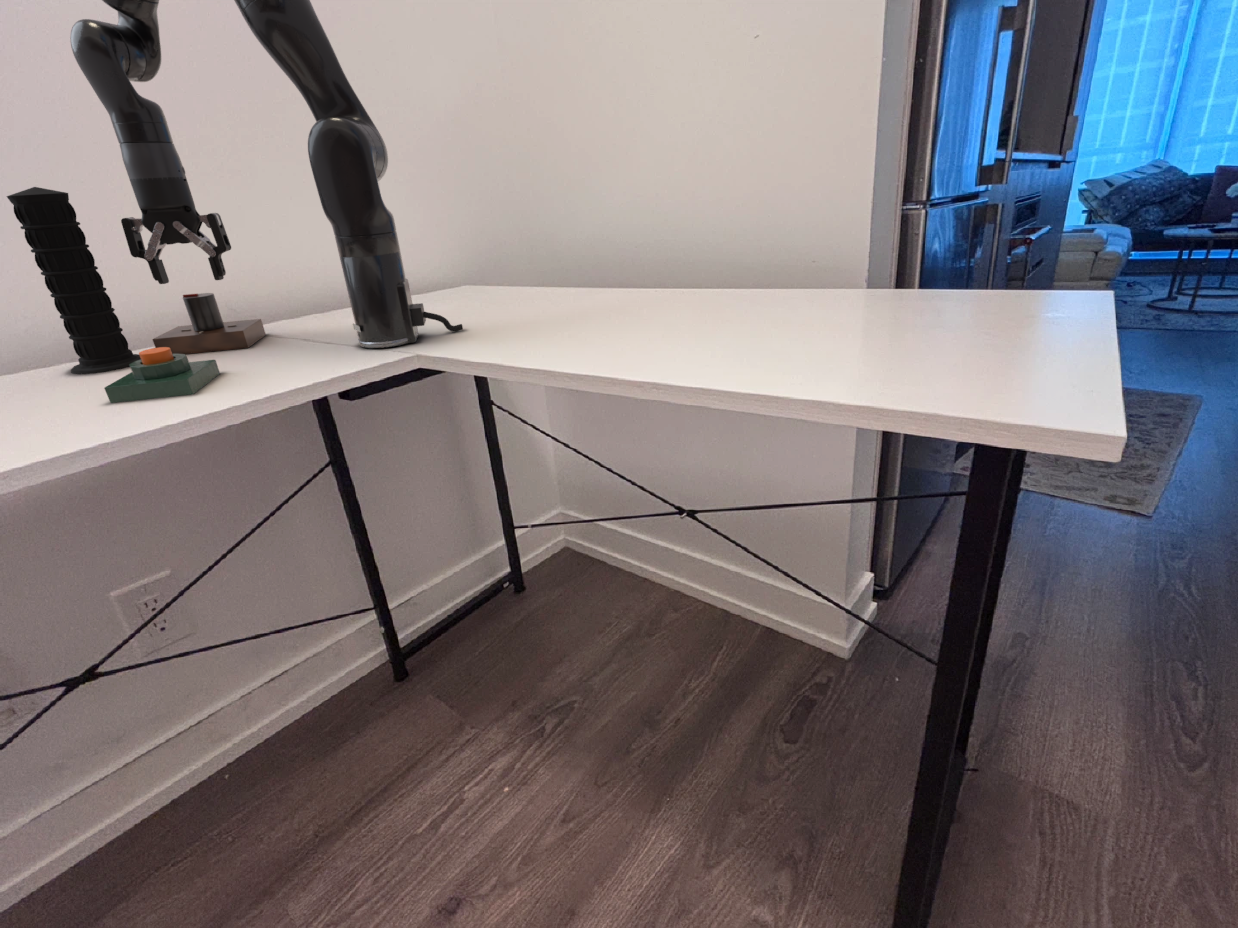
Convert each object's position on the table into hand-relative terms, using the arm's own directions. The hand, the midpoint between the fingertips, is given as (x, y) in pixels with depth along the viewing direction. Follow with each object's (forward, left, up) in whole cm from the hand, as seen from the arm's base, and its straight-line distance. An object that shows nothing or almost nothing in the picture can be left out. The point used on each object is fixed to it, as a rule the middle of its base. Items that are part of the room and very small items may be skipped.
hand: (192, 281), depth 105 cm
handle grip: (+13, +8, -11) cm, 19 cm away
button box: (-3, +26, -11) cm, 28 cm away
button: (-3, +26, -7) cm, 27 cm away
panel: (0, 0, -11) cm, 11 cm away
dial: (0, 0, -8) cm, 8 cm away
